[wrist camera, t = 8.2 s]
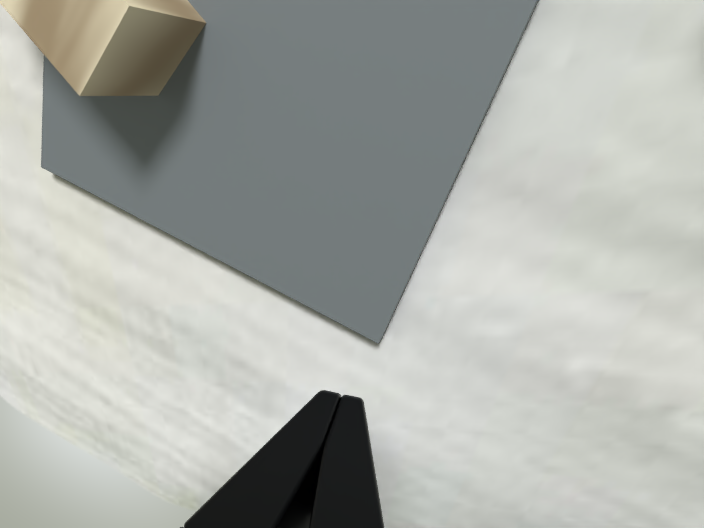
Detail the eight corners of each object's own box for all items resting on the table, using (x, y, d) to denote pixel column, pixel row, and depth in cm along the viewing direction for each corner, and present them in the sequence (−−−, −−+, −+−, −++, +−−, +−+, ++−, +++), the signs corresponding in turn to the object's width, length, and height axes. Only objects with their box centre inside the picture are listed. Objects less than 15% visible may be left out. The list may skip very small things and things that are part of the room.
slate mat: (544, -14, 16) (545, -19, 16) (383, 336, 24) (378, 343, 23) (66, -177, 20) (49, -187, 20) (53, 165, 28) (41, 167, 27)
